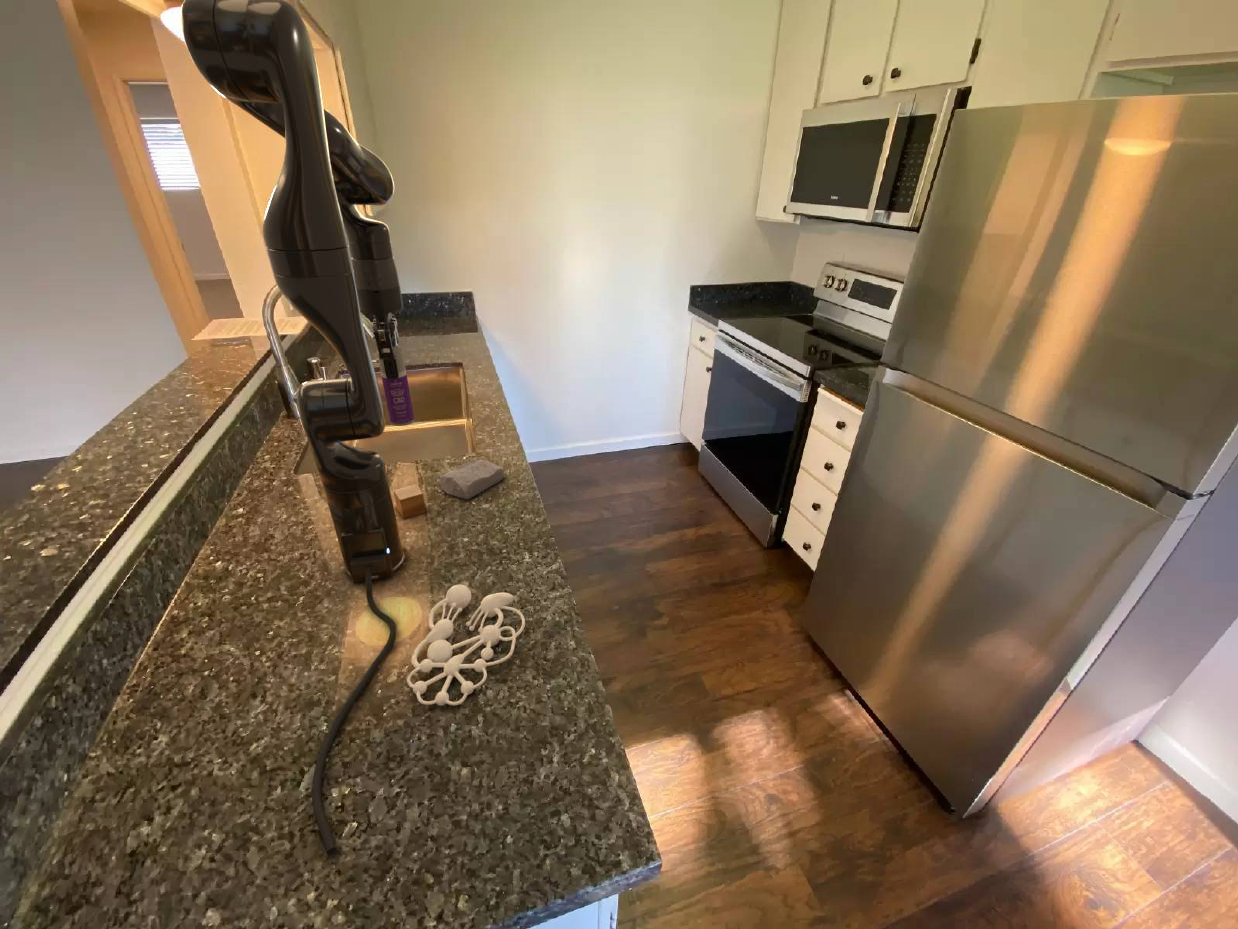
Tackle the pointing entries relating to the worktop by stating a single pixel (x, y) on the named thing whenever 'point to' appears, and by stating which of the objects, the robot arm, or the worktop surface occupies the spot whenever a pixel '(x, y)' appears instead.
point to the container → (397, 392)
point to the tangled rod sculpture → (461, 643)
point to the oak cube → (409, 501)
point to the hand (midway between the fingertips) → (393, 373)
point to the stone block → (471, 478)
